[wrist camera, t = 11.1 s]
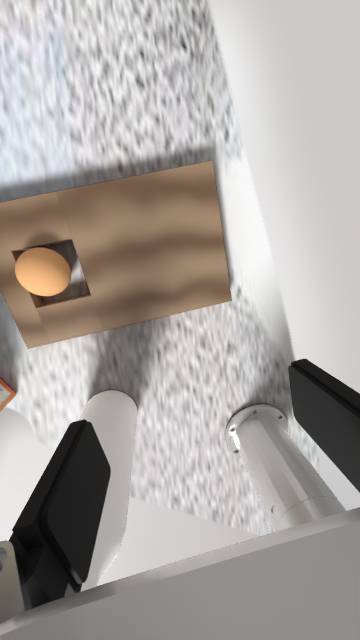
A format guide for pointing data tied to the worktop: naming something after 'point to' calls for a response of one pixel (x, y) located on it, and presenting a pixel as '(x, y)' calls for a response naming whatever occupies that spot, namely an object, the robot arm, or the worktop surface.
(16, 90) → the worktop surface
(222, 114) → the worktop surface
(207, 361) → the worktop surface
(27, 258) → the orange ball
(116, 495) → the alcohol
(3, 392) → the cracker box
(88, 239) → the board
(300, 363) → the robot arm
